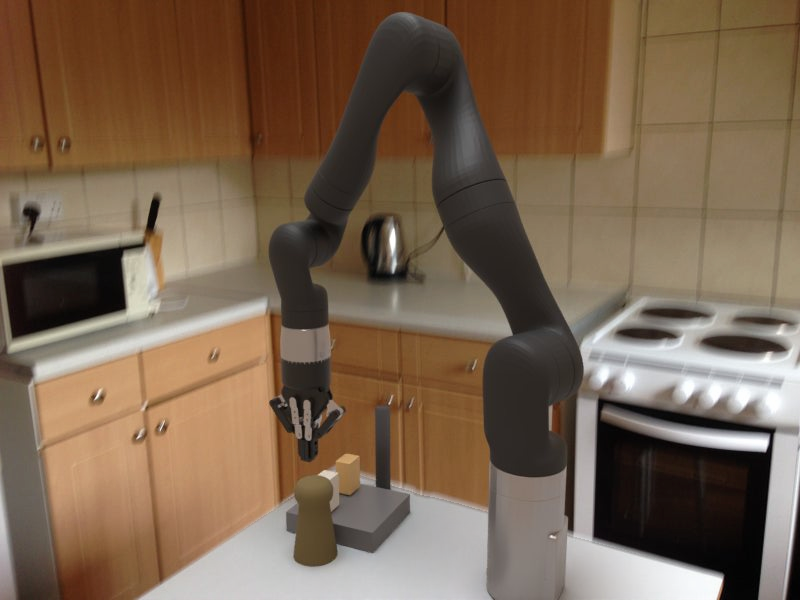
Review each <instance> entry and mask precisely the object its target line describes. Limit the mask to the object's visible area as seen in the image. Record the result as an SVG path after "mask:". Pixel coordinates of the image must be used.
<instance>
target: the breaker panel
mask: <svg viewBox="0 0 800 600" xmlns="http://www.w3.org/2000/svg"><path fill="white" fill-rule="evenodd" d="M298 508H299V504H298V503H297V502H296V503H295V504H294V505H292V506H291V507H290V508H289V509H288V510H287V511H285V519H286V520H285V521H286V522H285V523H286V524H285V525H286V532H289V533H294V534H296V527H297V518H298ZM410 513H411V494H410V493H405V492H401V491H397V490H393V489H392V490H388V489H383V488H379V487H376V486H375V485H374V486H373V485H368V484H364V483H360V487H359V488H358V489H357V490H355V491H354V492H353V493H352V494H351V495H347V494H343V493H339V505H338V506H337V507H336V508H335V509H334V510H333V511H332V512H331V515H332V521H333V527H334V533H335V539H336V545H340V546H344V547H348V548H352V549H355V550H356V549H357V550H361V551H365V552H368V553H372V554H373V553H374V552H375V551H376V550H377V549H378V548H379V547H380V545H382V544H383V542H384V541H385V540H386V539H387V538H388V537H389V536H390V535H391V534H392V533H393V532H394V530H395V529H396V528H397V527H398V526H399V525H400V524H401V523H402V522H403V520H405V518H407V516H409V514H410ZM401 521H402V522H401ZM400 522H401V523H400Z"/></svg>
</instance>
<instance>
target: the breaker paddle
mask: <svg viewBox="0 0 800 600" xmlns="http://www.w3.org/2000/svg"><path fill="white" fill-rule="evenodd" d="M360 460H361V459H360V455H356V454H352V453H345V454H343V455H342V456H340V457H339V458H338V459H337V460H335V472H336V473H339V493H343V494H347V495H351V494H352V493H353V492H354V491H355V490H357V489H358V488H359V487H360V484H361V469H360V468H361V465H360V464H361V463H360V462H361V461H360Z"/></svg>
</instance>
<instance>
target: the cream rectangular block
mask: <svg viewBox="0 0 800 600" xmlns="http://www.w3.org/2000/svg"><path fill="white" fill-rule="evenodd" d="M317 475H320V476H324V477H326V478H328V479H329V480H330V482H331V483H332V486H333V496H332V499H331V501H330V502H329V503H330V509H331V512H332V511H333V510H334V509H335V508H336V507H337V506H338V505H339V473H336V471H331V470H326V469H323V470H322V471H321V472H319V473H318V474H317Z"/></svg>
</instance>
